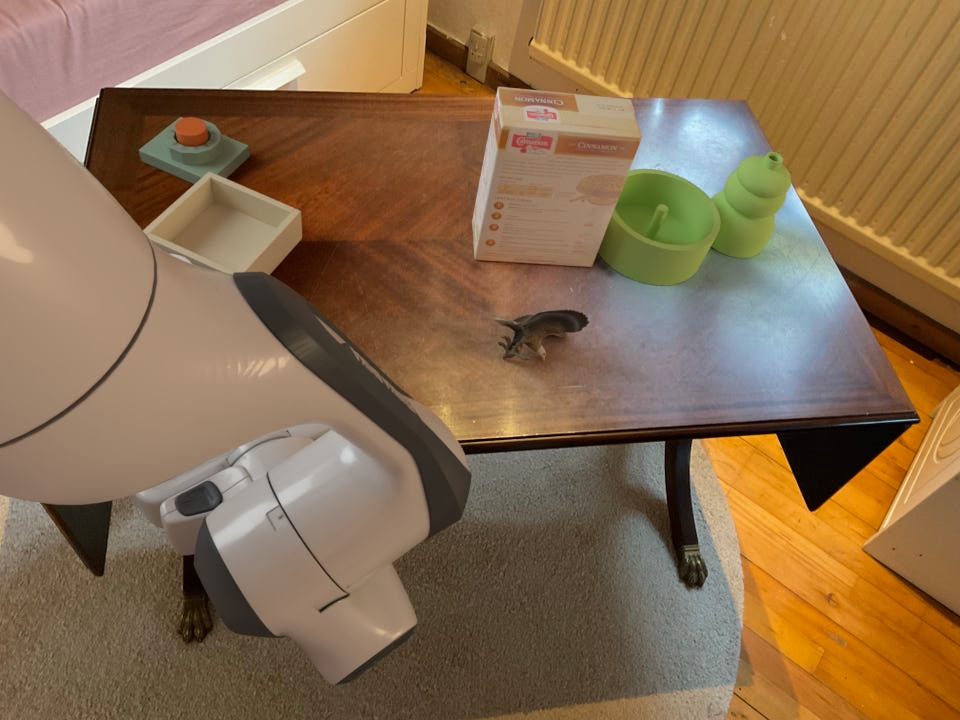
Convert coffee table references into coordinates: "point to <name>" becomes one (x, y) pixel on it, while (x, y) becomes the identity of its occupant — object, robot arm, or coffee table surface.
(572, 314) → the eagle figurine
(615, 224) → the food container
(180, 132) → the button
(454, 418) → the coffee table surface
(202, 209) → the cream square open box
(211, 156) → the panel
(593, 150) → the coffeecake box
